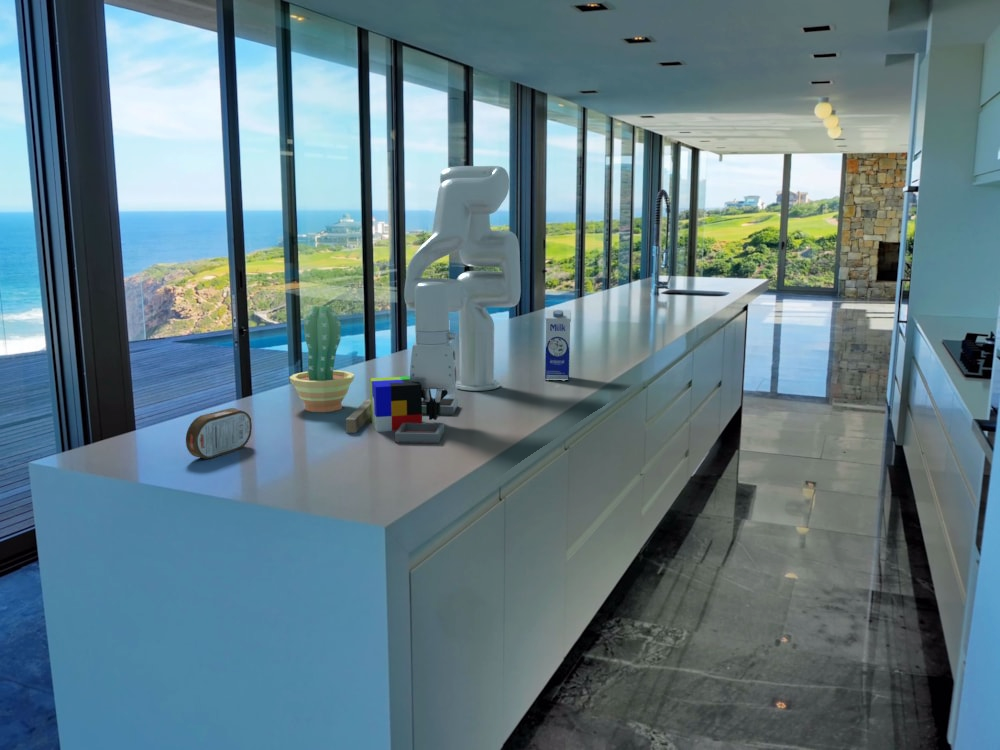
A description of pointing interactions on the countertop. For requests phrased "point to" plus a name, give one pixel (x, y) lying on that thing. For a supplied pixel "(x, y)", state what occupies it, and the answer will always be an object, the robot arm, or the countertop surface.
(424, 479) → the countertop surface
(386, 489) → the countertop surface
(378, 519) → the countertop surface
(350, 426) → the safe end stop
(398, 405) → the puzzle toy
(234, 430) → the tin
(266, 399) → the countertop surface
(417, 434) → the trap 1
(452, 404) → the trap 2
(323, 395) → the potted cactus
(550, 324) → the milk carton
